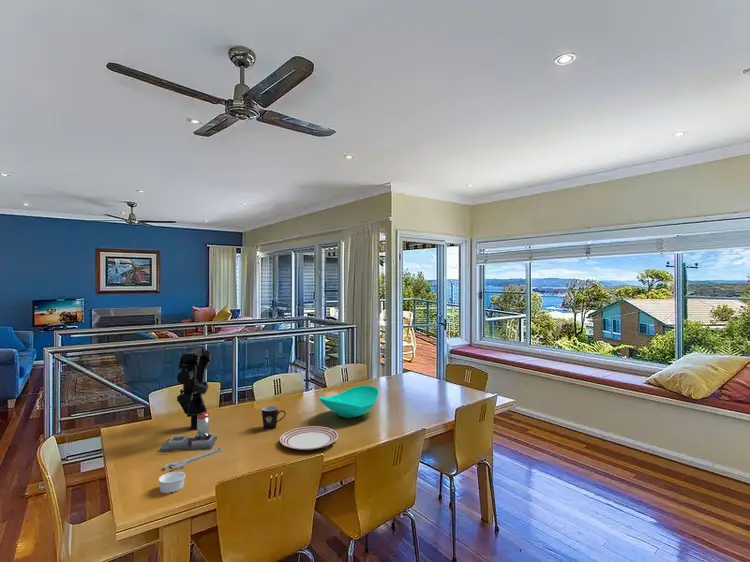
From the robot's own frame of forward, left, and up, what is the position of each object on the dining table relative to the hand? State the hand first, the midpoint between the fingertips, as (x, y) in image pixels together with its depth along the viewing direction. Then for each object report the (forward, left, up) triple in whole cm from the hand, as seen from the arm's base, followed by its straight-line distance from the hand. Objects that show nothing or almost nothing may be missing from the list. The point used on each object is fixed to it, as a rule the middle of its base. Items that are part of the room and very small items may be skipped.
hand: (189, 410), depth 200 cm
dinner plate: (+14, +58, -14) cm, 61 cm away
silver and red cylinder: (+10, +9, -12) cm, 18 cm away
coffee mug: (-8, +39, -13) cm, 42 cm away
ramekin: (+51, +8, -13) cm, 53 cm away
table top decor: (-22, +81, -13) cm, 85 cm away
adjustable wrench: (+27, +10, -14) cm, 32 cm away
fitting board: (+10, +3, -13) cm, 17 cm away
